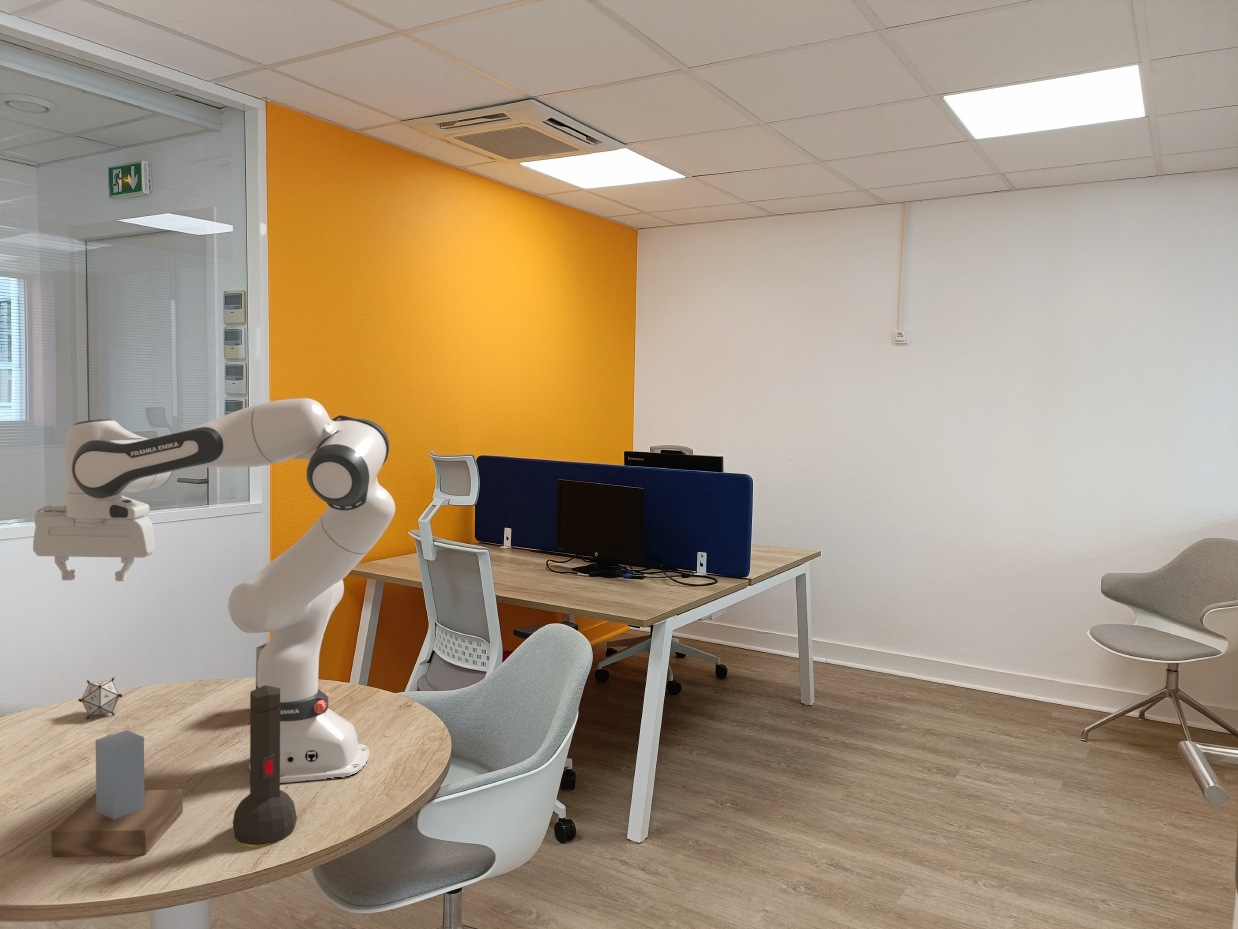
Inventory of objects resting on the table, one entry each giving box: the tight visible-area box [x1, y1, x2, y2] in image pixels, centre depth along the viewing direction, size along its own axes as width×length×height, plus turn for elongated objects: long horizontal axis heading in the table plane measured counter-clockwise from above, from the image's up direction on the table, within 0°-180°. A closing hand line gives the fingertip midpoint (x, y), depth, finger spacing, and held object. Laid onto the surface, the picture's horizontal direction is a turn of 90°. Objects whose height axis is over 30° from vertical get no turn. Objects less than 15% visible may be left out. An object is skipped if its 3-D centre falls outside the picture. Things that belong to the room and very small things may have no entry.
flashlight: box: [232, 685, 298, 846], centre depth 142 cm, size 10×25×10 cm
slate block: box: [95, 730, 145, 820], centre depth 140 cm, size 5×5×12 cm
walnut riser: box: [51, 789, 184, 857], centre depth 141 cm, size 14×14×4 cm
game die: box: [77, 677, 123, 720], centre depth 191 cm, size 9×8×10 cm
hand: (95, 580), depth 160 cm, fingers open, 8 cm apart
